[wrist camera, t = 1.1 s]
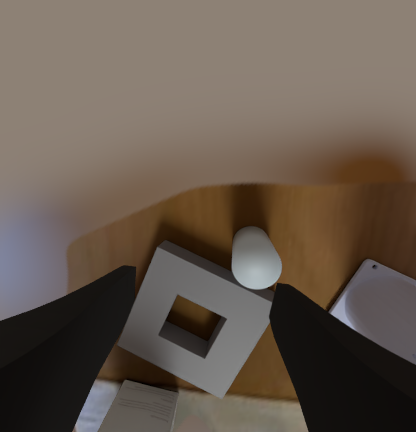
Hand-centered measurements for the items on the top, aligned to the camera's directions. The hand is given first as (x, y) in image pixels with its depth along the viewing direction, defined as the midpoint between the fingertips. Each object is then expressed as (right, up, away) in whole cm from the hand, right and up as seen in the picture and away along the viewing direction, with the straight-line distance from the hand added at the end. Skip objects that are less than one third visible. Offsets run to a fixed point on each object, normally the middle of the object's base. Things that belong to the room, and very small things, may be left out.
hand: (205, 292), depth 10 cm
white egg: (+5, +1, +12) cm, 13 cm away
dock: (-1, -8, +15) cm, 17 cm away
